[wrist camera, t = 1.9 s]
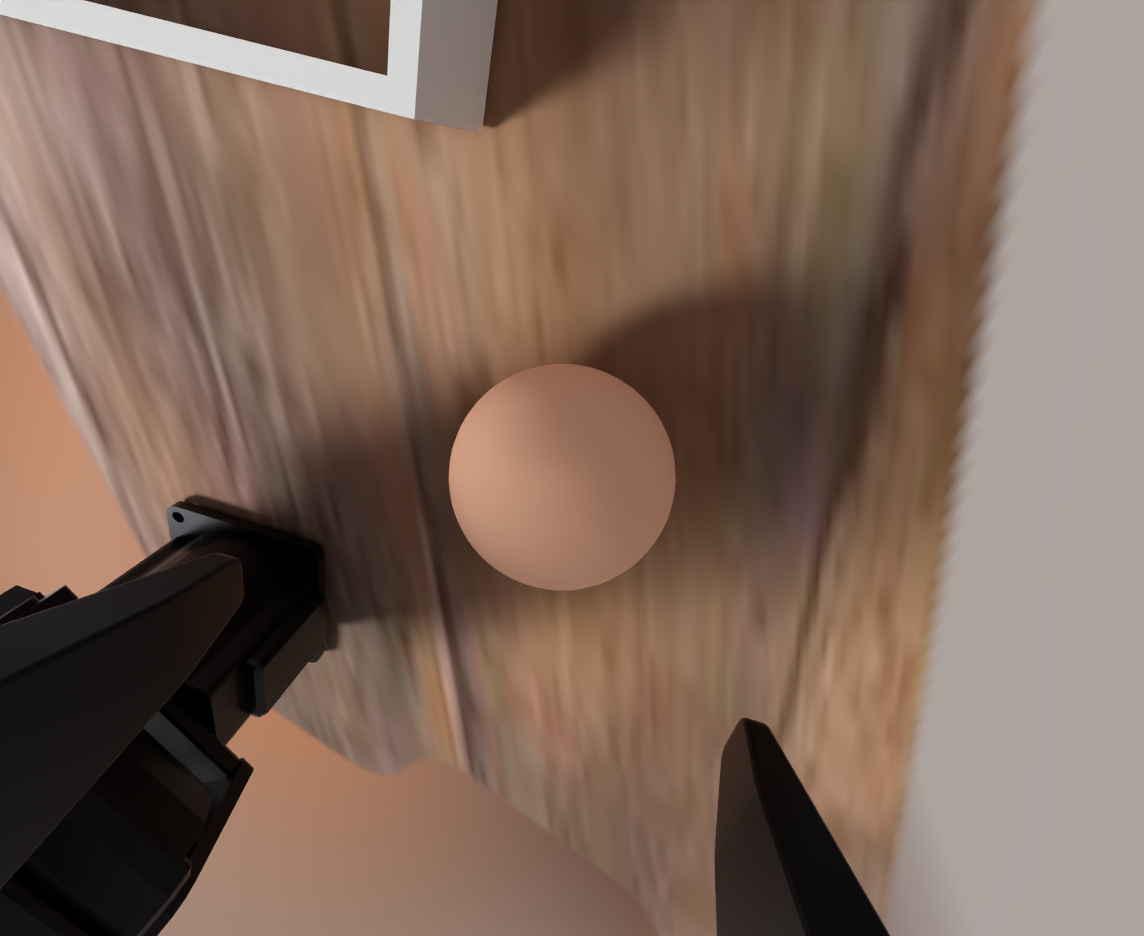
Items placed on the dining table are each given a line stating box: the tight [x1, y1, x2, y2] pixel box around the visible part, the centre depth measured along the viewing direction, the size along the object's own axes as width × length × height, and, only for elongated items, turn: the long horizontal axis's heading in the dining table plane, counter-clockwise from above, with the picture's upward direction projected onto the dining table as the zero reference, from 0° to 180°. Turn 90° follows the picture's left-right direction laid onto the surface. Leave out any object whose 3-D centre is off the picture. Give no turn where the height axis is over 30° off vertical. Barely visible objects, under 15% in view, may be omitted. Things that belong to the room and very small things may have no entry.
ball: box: [449, 364, 676, 591], centre depth 15 cm, size 6×6×6 cm
